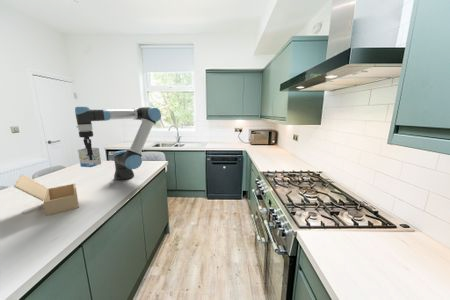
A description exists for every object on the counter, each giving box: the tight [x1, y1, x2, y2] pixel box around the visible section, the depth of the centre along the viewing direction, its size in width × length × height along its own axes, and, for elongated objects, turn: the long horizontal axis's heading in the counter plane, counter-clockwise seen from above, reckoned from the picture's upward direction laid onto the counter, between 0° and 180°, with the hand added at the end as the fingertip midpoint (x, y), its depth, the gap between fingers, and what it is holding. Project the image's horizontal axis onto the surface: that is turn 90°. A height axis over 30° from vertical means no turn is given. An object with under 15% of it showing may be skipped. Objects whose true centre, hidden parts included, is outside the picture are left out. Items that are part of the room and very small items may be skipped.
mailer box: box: [42, 183, 80, 216], centre depth 116 cm, size 14×23×8 cm, turn 39°
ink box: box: [77, 147, 102, 168], centre depth 128 cm, size 8×8×12 cm
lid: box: [13, 174, 48, 202], centre depth 107 cm, size 14×22×1 cm
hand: (90, 162), depth 129 cm, fingers closed on ink box, 11 cm apart
